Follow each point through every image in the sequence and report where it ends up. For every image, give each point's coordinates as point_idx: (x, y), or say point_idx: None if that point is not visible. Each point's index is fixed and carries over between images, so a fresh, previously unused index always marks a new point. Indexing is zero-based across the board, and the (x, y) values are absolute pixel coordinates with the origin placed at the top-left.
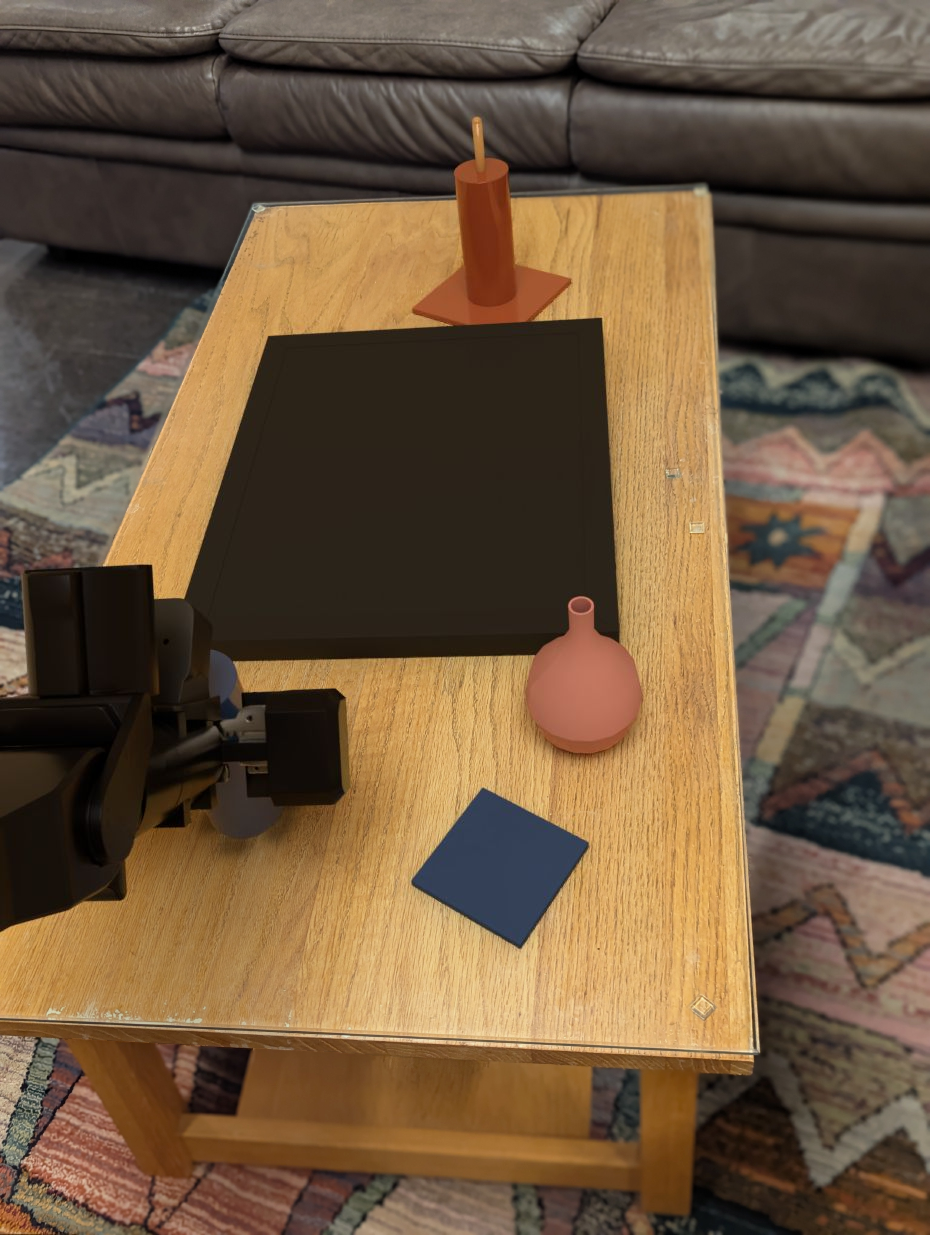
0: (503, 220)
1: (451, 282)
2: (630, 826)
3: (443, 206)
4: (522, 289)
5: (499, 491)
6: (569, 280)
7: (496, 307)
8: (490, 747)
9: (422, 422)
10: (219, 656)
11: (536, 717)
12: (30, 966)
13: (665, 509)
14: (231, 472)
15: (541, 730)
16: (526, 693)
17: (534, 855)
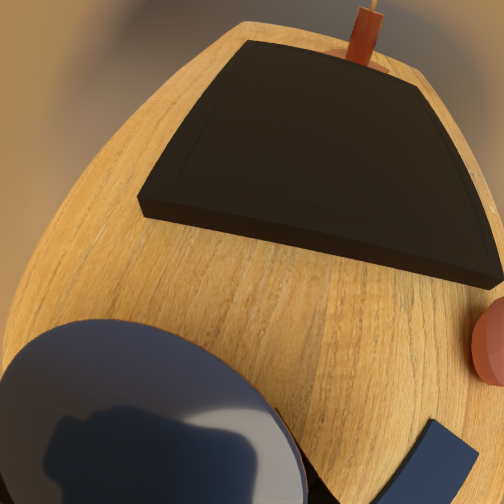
0: (377, 31)
1: (336, 51)
2: (492, 432)
3: (322, 35)
4: (370, 64)
5: (412, 143)
6: (389, 70)
7: None
8: (435, 372)
9: (348, 88)
10: (227, 392)
11: (496, 368)
12: None
13: (478, 192)
14: (218, 80)
15: (485, 372)
16: (490, 341)
17: (453, 472)
